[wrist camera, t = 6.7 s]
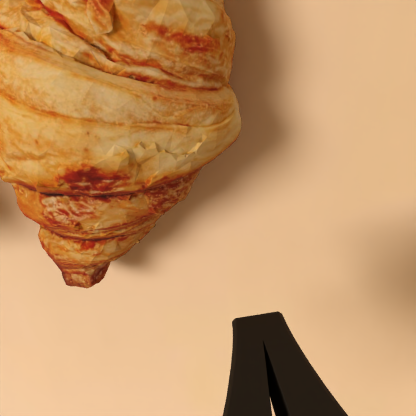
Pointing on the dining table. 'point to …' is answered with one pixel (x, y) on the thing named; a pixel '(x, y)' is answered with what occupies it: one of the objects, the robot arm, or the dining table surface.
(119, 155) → the croissant
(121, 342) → the dining table surface
